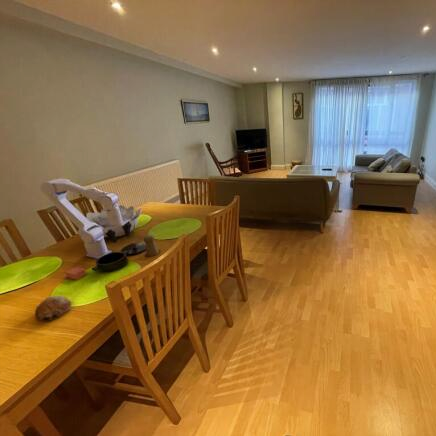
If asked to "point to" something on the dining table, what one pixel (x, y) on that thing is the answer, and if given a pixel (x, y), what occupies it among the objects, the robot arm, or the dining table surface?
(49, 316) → the bread roll
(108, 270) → the pan
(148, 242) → the cork
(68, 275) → the reddish pink block
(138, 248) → the pan lid
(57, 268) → the dining table surface
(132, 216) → the decorative bowl
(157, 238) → the dining table surface
